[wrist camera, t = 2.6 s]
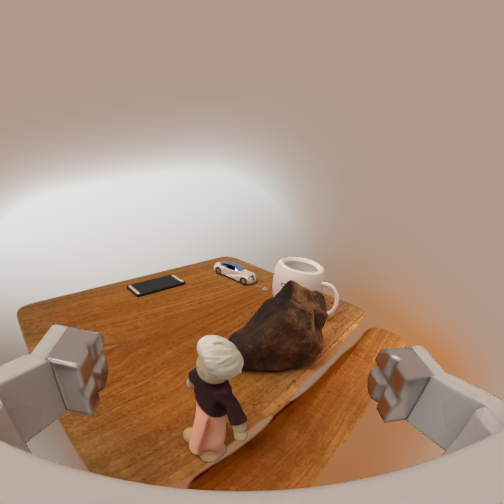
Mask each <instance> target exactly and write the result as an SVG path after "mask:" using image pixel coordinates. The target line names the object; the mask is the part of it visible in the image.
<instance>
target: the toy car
mask: <svg viewBox="0 0 504 504" xmlns="http://www.w3.org/2000/svg"><path fill="white" fill-rule="evenodd" d="M214 270H215V271H216V272H217V273H218V274H220V273H221V274H224V275H226V276H228V277H231V278H233V279H235V280H237V281H240V282H241V283H242V284H246V283H247V284H251V283H254V282H255V281H256V280H257V276H256V274H255V273H253V272H249V271H248V270H246V269H244V268H243V267H242V266H241V265H239V264H237V263H234V262H230V261H223V262H217V263H216V264H215V265H214ZM258 286H259V285H258ZM258 288H259V287H258ZM265 288H266V287H265ZM265 288H264V289H265ZM267 289H268V288H267ZM262 290H263V289H262ZM265 290H266V289H265Z"/></svg>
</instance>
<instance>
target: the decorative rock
mask: <svg viewBox="0 0 504 504" xmlns="http://www.w3.org/2000/svg"><path fill="white" fill-rule="evenodd" d="M327 317H328V313H327V309H326V303H325V299H324V296H323V295H322V294H321V293H320V292H319V291H316V290H315V291H310V290H309V289H308V288H305V287H302V286H301V285H300V284H298V283H297V282H295V281H292V280H290V281H288V282H287V283H286V284H285V285H284V286H283V287H282V289H281V290H280V292H278V293H277V294H276V295H275V297H274V298H270V299H268V300H266V301H265V302H264V303H263V305H262V306H261V307H260V308H259V309H258V311H257V312H256V313H255V315H254V316H253V317H252V318H251V319H250V320H249V321H248V322H247V324H246V325H245V326H244V328H241V329H239V330H238V331H236V332H235V333H233V334H232V335H231V336H230V338H229V339H228V340H229V341H230V342H232V343H233V344H234V345H235V346H236V347H237V349H238V350H239V352H240V353H241V356H242V357H243V360H244V365H243V368H242V369H246V368H252V369H255V370H268V371H281V370H284V369H286V368H290V367H307V366H309V365H310V364H311V363H313V362H314V361H315V360H316V359H317V357H318V356H319V354H320V353H321V352H322V350H323V345H322V343H323V335H322V328H323V326H324V324H325V321H326V319H327Z"/></svg>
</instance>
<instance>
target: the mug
mask: <svg viewBox="0 0 504 504" xmlns="http://www.w3.org/2000/svg"><path fill="white" fill-rule="evenodd" d="M324 279H325V272H324V268H323V267H322V266H321V265H319V264H318V263H316V262H314V261H312V260H309V259H305V258H300V257H285V258H282V259H280V260H279V262H278V264H277V266H276V268H275V271H274V276H273V284H272V290H273V297H275V295H276V294H277V293H278V292H280V290H281V289H282V287H283V286H284V285H285V284H286V283H287V282H288V281H290V280H292V281H295V282H297V283H298V284H300V285H301V286H302V287H305V288H308V289H309V290H310V291H315V290H316V291H319V292H320V293H321V292H322V289H323V286H325V287H329V288H330V289H331V290H333V293H334V296H335V302H334V306H333V307H332V309H331V310H330V311H327V313H328V315H331V314H333V313H334V312H335V311H336V309H337V307H338V304H339V295H338V291H337V289H336V288H335V286H333V285H332V284H330V283H326V282H324Z"/></svg>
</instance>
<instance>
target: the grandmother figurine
mask: <svg viewBox="0 0 504 504" xmlns="http://www.w3.org/2000/svg"><path fill="white" fill-rule="evenodd" d="M197 352H198V354H199V357H198V359H197V362H196V368H194V369H193V370H192V371H191V372H190V373H189V376H188V380H187V382H186V384H187V386H188V387H189V388H190V389H194V392H195V399H196V403H197V406H196V414H195V420H194V424H193V427H188V428H186V429H185V430H184V432H183V438H184V440H185V441H186V442H188V443H189V448H190V451H191V452H192V453H193V454H195V455H199V457H200V458H201V459H202V460H203V461H205V462H208V463H212V462H216V461H217V460H218V459H220V458H221V457H222V456H223V455H224V454H225V453H226V452H227V447H226V446H225V444H224V441H225V437H226V419H227V416H228V420H229V421H230V423H231V425H232V428H233V430H234V438H235V439H236V440H237V441H245V440H246V439H247V437H248V434H247V431H246V421H247V417H246V415H245V414H244V412H243V410H242V408H241V406H240V404H239V402H238V401H237V399H236V398H235V396H234V395H233V394H232V390H231V386H230V384H229V381H228V380H227V379H230V378H233V377H235V376H236V375H237V374H241V371H242V368H243V365H244V360H243V357H242V356H241V353H240V352H239V350H238V349H237V347H236V346H235V345H234V344H233V343H232V342H230V341H229V340H227V339H226V338H223V337H220V336H217V335H207V336H204V337H203V338H201V339H200V340H199V342H198V344H197Z"/></svg>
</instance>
